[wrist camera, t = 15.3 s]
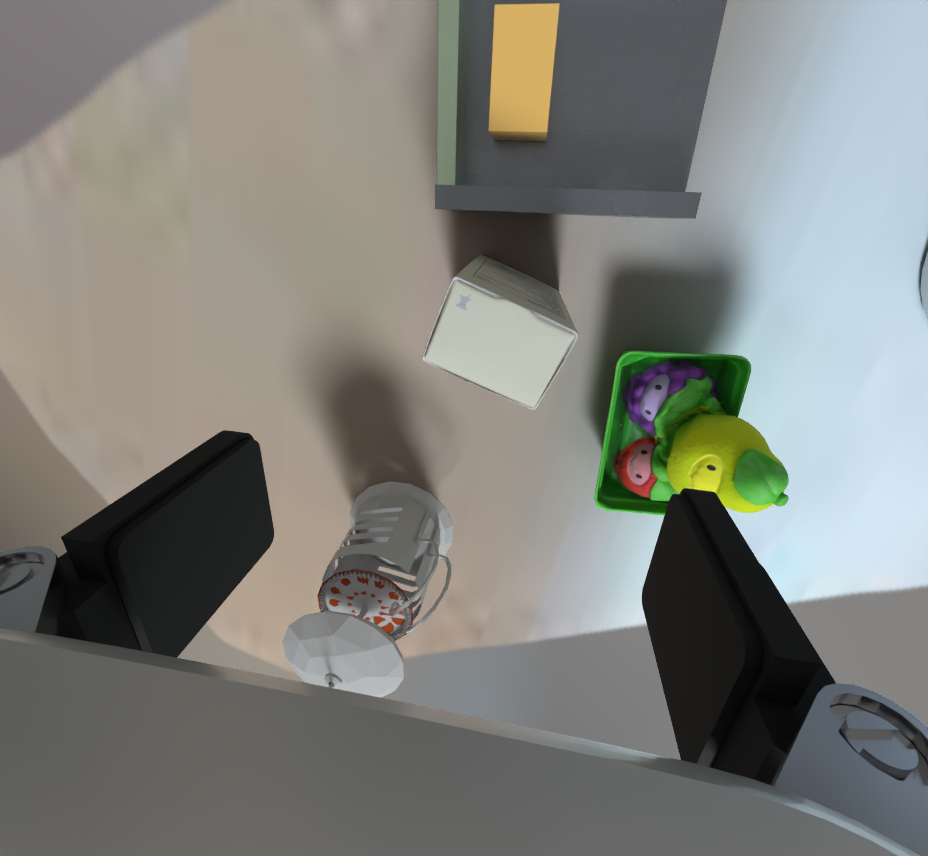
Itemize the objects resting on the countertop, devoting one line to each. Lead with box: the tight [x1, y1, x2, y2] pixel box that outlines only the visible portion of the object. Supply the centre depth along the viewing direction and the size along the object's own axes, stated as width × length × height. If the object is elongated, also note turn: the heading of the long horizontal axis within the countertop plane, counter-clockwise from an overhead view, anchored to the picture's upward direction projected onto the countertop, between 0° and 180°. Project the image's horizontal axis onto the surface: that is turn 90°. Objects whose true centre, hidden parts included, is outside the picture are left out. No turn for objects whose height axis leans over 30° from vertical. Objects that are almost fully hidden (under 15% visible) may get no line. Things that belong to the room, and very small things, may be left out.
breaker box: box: [435, 0, 727, 218], centre depth 24 cm, size 14×12×4 cm
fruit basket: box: [594, 351, 788, 515], centre depth 28 cm, size 11×9×11 cm
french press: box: [283, 481, 453, 698], centre depth 30 cm, size 10×12×25 cm
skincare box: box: [422, 255, 578, 410], centre depth 26 cm, size 6×4×12 cm
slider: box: [489, 3, 560, 141], centre depth 23 cm, size 3×5×3 cm, turn 178°
